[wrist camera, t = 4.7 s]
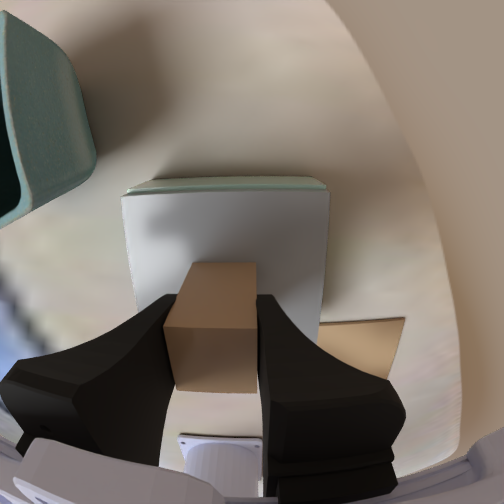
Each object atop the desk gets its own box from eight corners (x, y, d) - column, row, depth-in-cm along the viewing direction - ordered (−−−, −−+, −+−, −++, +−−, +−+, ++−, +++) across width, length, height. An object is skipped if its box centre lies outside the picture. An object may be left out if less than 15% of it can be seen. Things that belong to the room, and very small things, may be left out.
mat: (373, 408, 23) (374, 410, 23) (263, 418, 23) (263, 420, 23) (403, 317, 19) (404, 319, 19) (265, 324, 19) (265, 327, 19)
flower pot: (6, 110, 14) (-88, 116, 6) (99, 46, 13) (4, 3, 5) (34, 219, 17) (-57, 269, 9) (133, 173, 16) (35, 209, 8)
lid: (311, 353, 16) (330, 436, 11) (153, 351, 16) (122, 428, 11) (325, 189, 13) (375, 224, 7) (127, 193, 13) (56, 229, 8)
